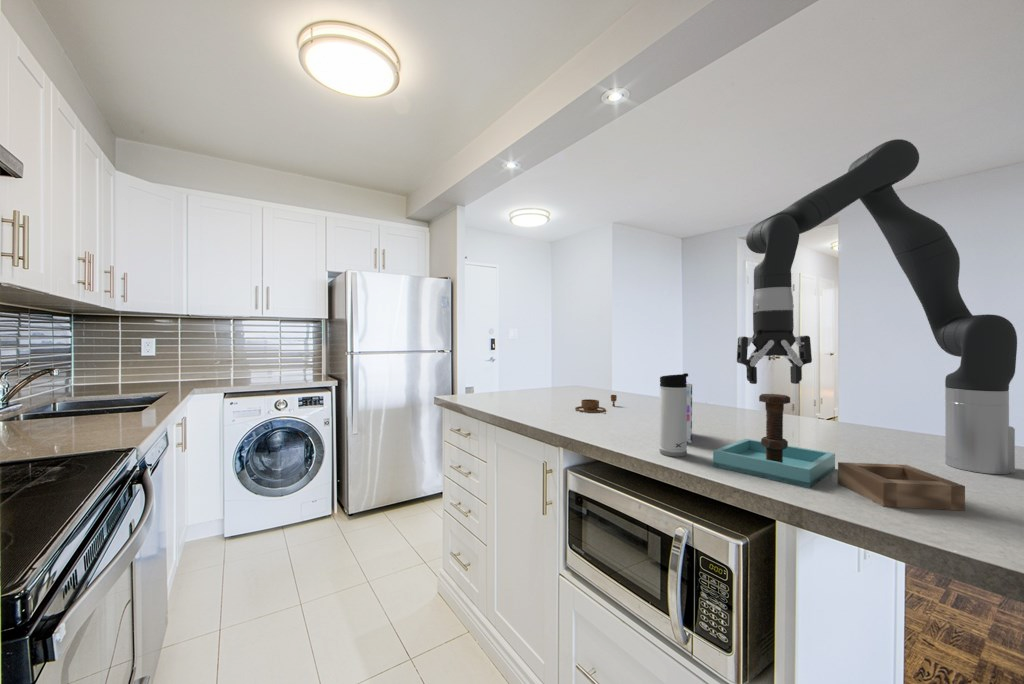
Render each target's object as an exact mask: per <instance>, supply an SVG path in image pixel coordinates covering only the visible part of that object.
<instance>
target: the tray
mask: <svg viewBox="0 0 1024 684" xmlns="http://www.w3.org/2000/svg"><path fill="white" fill-rule="evenodd" d="M766 450H767V449H766V447H764V446H763V445H762V444H761V440H756V439H750V438H744V439H741V440H739V441H736V442H733V443H730V444H727V445H725V446H722V447H719V448H717V449H716V448H715V449H713V451H712V461H713V462H712V466H713V467H714V468H719V469H724V470H728V471H732V472H737V473H742V474H744V475H750V476H755V477H759V478H763V479H768V480H771V481H777V482H781V483H785V484H789V485H794V486H798V487H802V488H807V489H811V487H813V486H815V484H817V483H819V482H820V481H821V480H823V479H824V478H825V477H827V476H828V475H830V474H831V473H832V472H833V471H835V470H836V453H835V452H829V451H823V450H817V449H816V450H815V449H811V448H806V447H805V448H804V447H798V446H794V445H793V446H792V445H788V447H787V448H786V449H783V450H782V451H783V455H782V456H783V458H782V459H783V461H782V462H783V463H781V462H776V461H771V460H766V456H767V455H766V453H767V452H766Z"/></svg>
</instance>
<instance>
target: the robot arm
mask: <svg viewBox="0 0 1024 684" xmlns="http://www.w3.org/2000/svg"><path fill="white" fill-rule="evenodd" d="M919 162H920V153H919V151H918V148H917V146H915V145H914V144H913V143H912V142H911V141H908V140H906V139H899V138H897V139H896V138H895V139H891V140H888V141H885V142H883V143H881V144H879V145H878V146H877V145H876V147H874V148H873V149H871V150H869V151H868V152H867V153H865V154H863V155H861V156H860V157H858V158H857V159H856V160H854V161H853V162H851V164H850V165H849V167H848V168H847V169H848V170H847V172H846V173H844V174H842V175H841V176H839V177H837V178H835V179H834V180H832V181H829V182H828V183H825V184H824V185H822V186H820V187H819V188H817V189H815V190H812V192H810V193H808V194H806V195H805V196H803V197H801V198H800V199H797V200H796V201H794V202H793V203H791V204H790V205H789V206H787V207H786V208H784V209H783V210H780V211H779V212H777V213H774V214H773V215H770V216H769V217H766V218H764V219H763V220H761V221H760V222H758V223H755V225H753V226H752V227H750V229H749V231H748V232H747V233H746V238H745V243H746V246H747V248H748V250H750V251H752V252H753V253H755V254H761V255H762V254H764V257H763V259H762V260H761V262H759V263H758V264H756V266H755V267H754V268H753V269H754V270H753V296H752V325H753V326H752V329H753V330H752V331H753V332H752V333H753V334H752V336H751V337H747V336H738V338H737V346H736V347H737V351H736V363H738V364H741V365H745V367H746V380H747V381H748V382H749V384H751V385H754V384H755V385H756V384H757V383H758V373H757V372H758V369H757V366H756V365H757V364H758V362H759V361H760V360H762V359H763V358H764V357H773V356H774V357H775V356H777V357H783V358H785V359H786V360H787V362H788V363H789V364H790V365H791V366H789V367H790V368H789V371H790V374H789V375H790V383H791V384H793V385H794V384H795V385H797V384H800V382H801V381H802V379H803V371H802V369H803V366H805V365H806V364H811V363H812V361H813V359H812V345H811V337H810V336H809V335H799V336H795V335H794V329H795V328H794V326H795V325H794V324H795V323H794V308H795V306H794V296H793V291H792V268H793V267H792V266H793V264H794V262H795V257H796V253H797V249H798V246H799V241H800V235H801V234H804V233H807V232H809V231H811V230H813V229H814V228H816V227H818V226H819V225H821V224H822V223H824V222H826V221H827V220H829V219H830V218H832V217H833V216H835V215H837V214H838V213H840V212H841V211H843V210H844V209H846V208H847V207H849V206H850V205H851V204H854V202H856V201H858V200H860V202H861V203H862V204H863V206H864V207H865V209H867V211H868V212H869V214H870V215H871V216H872V218H873V219H874V221H875V223H876V224H877V226H878V228H879V230H880V231H881V232H882V235H883V236H884V238H885V239H886V241H887V243H888V245H889V247H890V249H891V251H892V253H893V256H894V257H895V259H896V261H897V263H898V264H899V266H900V267H901V270H902V271H903V273H904V274H905V276H906V278H907V279H908V282H909V283H910V285H911V287H912V289H913V291H914V293H915V295H916V296H917V298H918V301H919V302H920V305H921V306H922V309H923V310H924V313H925V317H926V319H927V321H928V323H929V326H930V329H931V332H932V334H933V337H934V339H935V342H936V343H937V345H938V347H940V349H941V350H943V351H944V352H945V353H947V354H948V355H951V356H954V357H959V358H960V365H959V367H958V368H957V369H956V370H955V371H953V372H952V373H948V374H946V376H945V378H944V379H945V380H944V382H945V383H944V385H945V386H944V388H945V389H944V390H945V391H944V392H945V394H944V395H945V396H944V399H945V402H944V405H945V414H944V415H945V418H944V419H945V420H944V423H945V427H944V429H945V438H944V439H945V443H944V445H945V446H944V447H945V450H944V451H945V452H944V453H945V454H944V455H945V462H944V463H945V464H946V465H947V466H949V467H951V468H952V467H953V468H955V469H960V470H963V471H969V472H975V473H981V474H991V475H1007V474H1015V470H1016V469H1015V468H1016V467H1015V466H1016V462H1015V461H1016V459H1015V458H1016V455H1015V454H1016V446H1015V445H1016V441H1015V440H1016V432H1015V431H1016V428H1014V427H1013V426H1010V391H1009V390H1010V383H1011V382H1012V380H1013V379H1014V377H1015V374H1016V365H1017V364H1016V363H1017V353H1018V334H1017V330H1016V328H1015V326H1014V324H1013V323H1012V322H1011V321H1010V320H1009V319H1007V318H1006V317H1004V316H1003V315H1002V316H1001V315H998V314H990V313H989V314H976V315H975V314H974V315H973V314H972V312H971V311H970V309H969V308H968V306H967V305H966V303H965V301H964V300H963V297H962V295H961V293H960V289H959V279H960V277H959V276H960V268H961V261H960V254H959V251H958V250H957V247H956V246H955V244H954V242H953V240H952V239H951V237H950V235H949V233H948V232H947V230H946V228H945V227H943V226H942V225H941V224H940V223H938V222H937V221H936V220H933V219H932V218H930V217H928V216H926V215H924V214H922V213H920V212H918V211H916V210H914V209H913V208H911V207H909V206H908V205H906V204H905V203H904V202H903V201H902V199H900V196H899V195H898V193H896V191H895V189H894V187H893V185H895V184H897V183H898V182H901V181H903V180H905V179H906V178H908V177H909V176H910V175H911V174H912V173H913V172H915V170H916V168H917V167H918V165H919ZM751 343H752V345H753V346H754V347H755V348H754V350H753V351H752V352H751V353H750V356H749V357H748V350H749V349H748V347H750V346H751ZM794 344H795V345H796V346H797V347H798V354H797V353H796V351H795V350H794V349H793V348H792V347H793V346H794ZM798 355H799V356H798Z"/></svg>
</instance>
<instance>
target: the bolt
mask: <svg viewBox="0 0 1024 684" xmlns="http://www.w3.org/2000/svg"><path fill="white" fill-rule="evenodd" d="M758 401H759V402H761V403H762V402H763V403H765V413H766V414H765V419H766V420H765V421H766V422H765V425H766V426H765V429H766V430H765V436H763V437H762V438H761V439H760V441H761V444H762V445H763V446H764V447H766V449H767V450H766V452H767V453H766V455H767V456H766V460H771V461H776V462H781V463H783V462H782V461H783V459H782V458H783V456H782V455H783V451H782V450H783V449H786V448H787V447H788V446H789V442H788V440H787V439H785V438H784V435H783V433H784V422H783V421H784V414H783V413H784V408H785V406H784V405H786V404H790V403H791V397H790V396H789V395H787V394H778V393H761V394H760V395H759V396H758Z"/></svg>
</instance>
